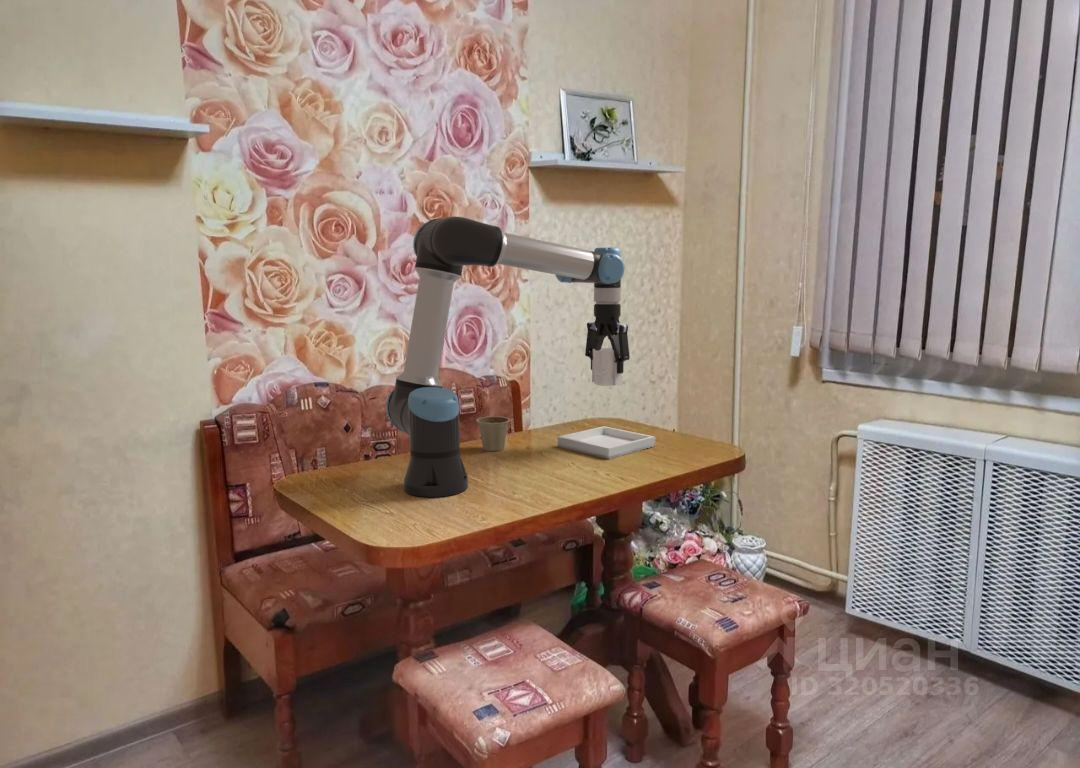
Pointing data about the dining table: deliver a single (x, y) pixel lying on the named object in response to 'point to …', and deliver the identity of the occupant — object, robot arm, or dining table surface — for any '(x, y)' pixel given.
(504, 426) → the flower pot
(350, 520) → the dining table surface
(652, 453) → the dining table surface
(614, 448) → the tray
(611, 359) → the white cup
